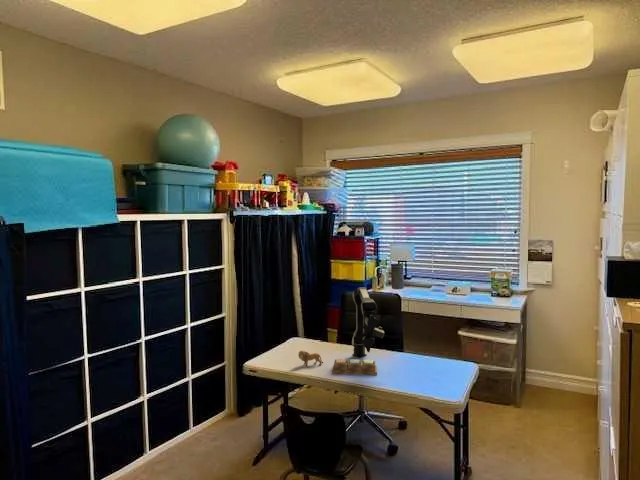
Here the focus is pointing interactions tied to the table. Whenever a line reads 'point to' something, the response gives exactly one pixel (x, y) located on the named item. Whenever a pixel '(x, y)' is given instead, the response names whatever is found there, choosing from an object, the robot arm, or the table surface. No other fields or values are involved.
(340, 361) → the three-pip button
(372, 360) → the button
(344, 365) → the button board
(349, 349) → the table surface
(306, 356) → the lion figurine
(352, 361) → the button
